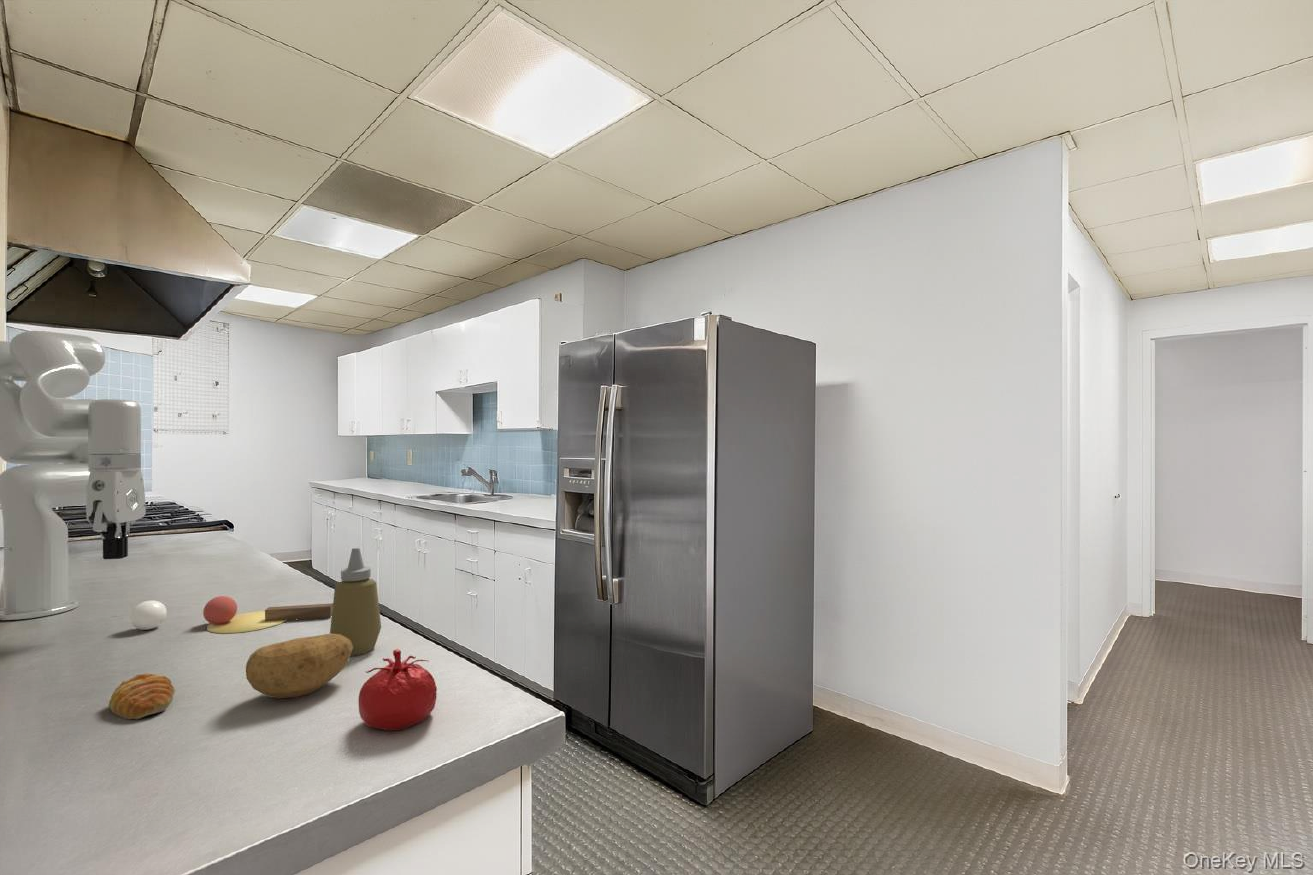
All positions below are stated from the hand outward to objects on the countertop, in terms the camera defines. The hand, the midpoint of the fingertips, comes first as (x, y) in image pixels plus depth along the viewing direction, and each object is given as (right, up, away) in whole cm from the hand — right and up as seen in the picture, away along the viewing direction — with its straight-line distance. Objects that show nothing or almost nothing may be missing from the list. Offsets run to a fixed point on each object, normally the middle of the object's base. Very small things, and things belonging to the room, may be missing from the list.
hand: (115, 557), depth 115 cm
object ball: (+17, -11, +4) cm, 21 cm away
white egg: (+6, -11, +1) cm, 13 cm away
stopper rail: (+31, -14, +8) cm, 35 cm away
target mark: (+22, -14, +5) cm, 27 cm away
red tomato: (+71, -14, -36) cm, 80 cm away
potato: (+52, -14, -27) cm, 61 cm away
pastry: (+33, -15, -32) cm, 48 cm away
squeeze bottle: (+52, -14, -11) cm, 55 cm away
